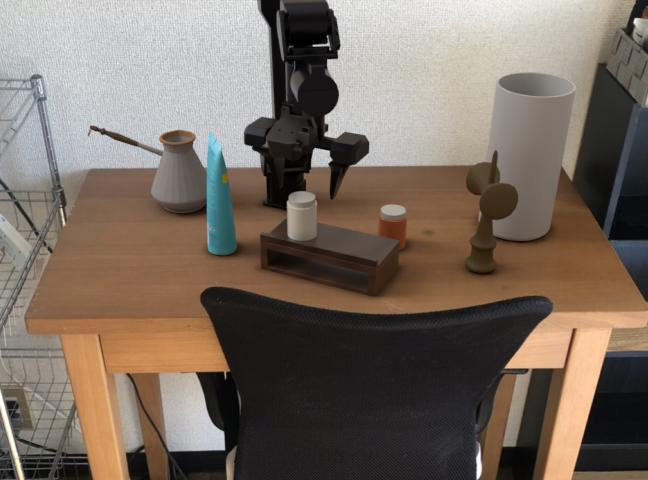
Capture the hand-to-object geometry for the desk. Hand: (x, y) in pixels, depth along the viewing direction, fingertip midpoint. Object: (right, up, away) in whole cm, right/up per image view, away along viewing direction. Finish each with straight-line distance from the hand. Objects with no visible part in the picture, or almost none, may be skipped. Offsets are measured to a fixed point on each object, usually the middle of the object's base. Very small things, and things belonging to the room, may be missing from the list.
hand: (306, 193), depth 132 cm
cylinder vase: (+37, -2, +18) cm, 41 cm away
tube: (-14, -7, +11) cm, 19 cm away
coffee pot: (-28, +3, +24) cm, 37 cm away
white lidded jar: (-1, -6, +4) cm, 7 cm away
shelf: (+4, -11, +5) cm, 13 cm away
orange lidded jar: (+14, -6, +12) cm, 20 cm away
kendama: (+28, -11, +6) cm, 31 cm away
